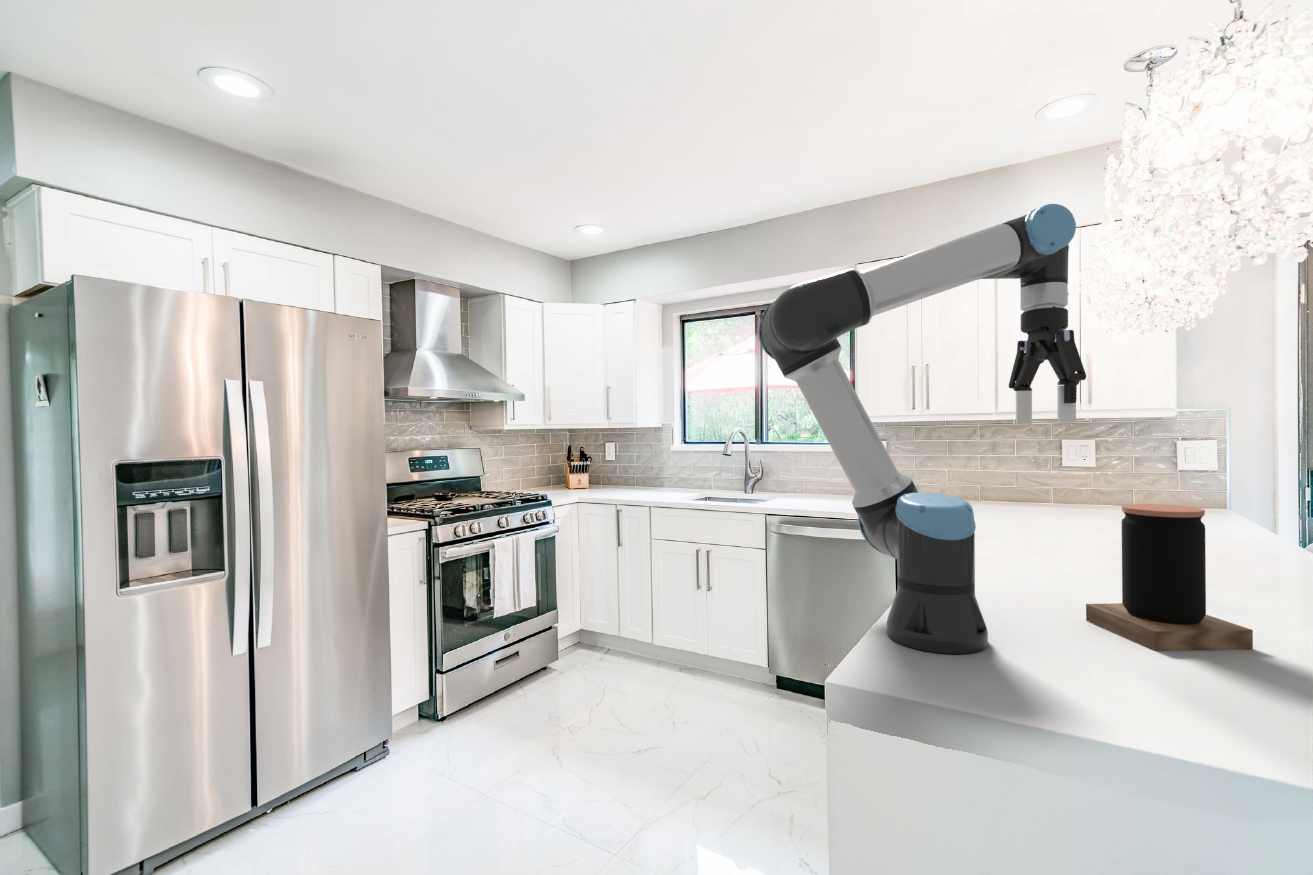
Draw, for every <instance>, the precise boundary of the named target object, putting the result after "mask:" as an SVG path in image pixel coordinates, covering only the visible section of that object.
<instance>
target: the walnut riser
mask: <svg viewBox="0 0 1313 875" xmlns="http://www.w3.org/2000/svg"><path fill="white" fill-rule="evenodd" d="M1085 617H1086V618H1085V621H1086V622H1088V621H1089V623H1090V622H1091V624H1093V623H1094V624H1093V625H1095V626H1097V627H1100V628H1102V629H1104V628H1105V630H1106V631H1110V632H1111V633H1114V634H1116V635H1119V636H1121V637H1122V636H1123V637H1122V638H1125V639H1127V640H1129V641H1132V642H1134V643H1136V644H1138V643H1139V644H1138V645H1141V646H1143V647H1146V648H1148V649H1150V650H1152V649H1153V651H1154V652H1160V651H1161V652H1162V651H1163V652H1165V651H1167V652H1168V651H1169V650H1177V651H1211V650H1210V649H1218V650H1217V651H1222V650H1221V649H1247V650H1254V648H1253V647H1254V646H1253V645H1254V644H1253V643H1254V640H1253V639H1254V636H1253V635H1254V634H1253V633H1254V632H1253V631H1254V630H1253V629H1250V628H1248V627H1246V626H1245V627H1244V626H1242V625H1238V624H1236V623H1233V622H1230V621H1227V620H1223V619H1220V618H1217V617H1215V616H1212V615H1208V614H1206V615H1205V617H1204V618H1203V619H1202V620H1201V621H1200V623H1197V624H1188V625H1184V624H1169V623H1162V622H1156V621H1151V620H1146V619H1142V618H1139V617H1136V616H1133V615H1131V614H1129V613H1128V611H1127V609H1126V608H1125V607H1124V606H1123V604H1122V602H1121V603H1116V602H1115V603H1086V604H1085ZM1219 649H1220V650H1219ZM1169 652H1170V651H1169Z"/></svg>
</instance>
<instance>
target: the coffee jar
mask: <svg viewBox="0 0 1313 875" xmlns="http://www.w3.org/2000/svg"><path fill="white" fill-rule="evenodd" d="M1121 511H1122V512H1123V514H1124V517H1123V518H1122V519H1121V589H1122V590H1121V593H1122V594H1121V598H1122V599H1121V600H1122V601H1121V603H1122V604H1123V606H1124V607H1125V608H1126V609H1127V611H1128V613H1129V614H1131V615H1133V616H1136V617H1139V618H1142V619H1146V620H1151V621H1156V622H1162V623H1169V624H1184V625H1188V624H1197V623H1200V621H1201V620H1202V619H1203V618H1204V617H1205V615H1207V584H1206V582H1207V579H1206V578H1207V576H1206V575H1207V574H1206V572H1207V571H1206V570H1207V569H1206V565H1207V564H1206V563H1207V562H1206V559H1207V558H1206V525H1205V524H1204V522H1203V521H1202V518H1203V517H1204V516H1205V513H1206V511H1205V509H1203V508H1200V507H1194V506H1188V505H1187V506H1186V505H1176V504H1174V505H1173V504H1159V503H1158V504H1155V503H1154V504H1153V503H1132V504H1131V503H1129V504H1123V505H1121Z"/></svg>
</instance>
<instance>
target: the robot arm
mask: <svg viewBox="0 0 1313 875" xmlns="http://www.w3.org/2000/svg"><path fill="white" fill-rule="evenodd" d="M1076 229H1077V223H1076V218H1075V217H1074V215H1073V213H1072V212H1071V211H1070V209H1069V208H1067V207H1066V206H1064V205H1062V204H1059V203H1048V204H1044V205H1042V206H1040V207H1037V208H1034V209H1033V210H1031V211H1030V212H1028V213H1027V214H1024V215H1021V216H1019V217H1017V218H1014V219H1011V220H1007V221H1005V222H1002V223H999V224H996V225H993V226H990V227H987V228H985V229H984V228H983V229H981V230H978V231H975V232H973V233H969V234H967V235H964V236H960V237H958V238H954V239H952V240H949V241H946V242H943V243H940V244H938V245H935V246H934V245H933V246H931V247H929V248H925V249H923V250H920V251H917V252H914V253H910V254H909V255H905V256H903V257H900V258H896V259H893V260H891V261H888V262H885V263H883V264H879V265H876V266H873V267H869V268H867V269H865V270H861V271H859V270H857V269H855V268H848V269H845V270H841V271H838V272H836V273H835V272H834V273H832V274H828V275H825V276H821V277H818V278H815V279H814V278H813V279H811V280H806V281H803V282H800V283H797V284H795V285H792V286H790V287H788V288H786V290H785V291H783V292H782V293H781V294H780V295H779V296H778V298H776V299H775V300H774V301H773V302H772V303H770V304H769V305H768V306H767V307H766V309H765V310H764V311H763V313H762V315H761V318H760V321H759V324H758V331H757V333H758V334H757V336H758V340H759V343H760V346H761V348H762V350H763V351H764V353H765V354H767V355H768V356H769V357H770V358H771V359H773V360H775V362H776V364H777V366H778V368H779V370H780V372H781V373H782V375H783V377H784V378H785V379H788V380H791V381H794V382H796V384H797V386H798V388H799V389H800V392H801V393H802V396H803V397H804V399H805V401H806V403H807V405H808V406H809V408H810V410H811V412H812V414H813V415H814V418H815V419H816V421H817V423H818V425H819V427H820V429H821V431H822V432H823V436H824V437H825V438H826V440H827V442H828V444H829V446H830V448H831V450H832V451H833V453H834V455H835V457H836V459H837V461H838V463H839V465H840V467H841V468H842V470H843V472H844V474H845V475H846V478H847V479H848V481H849V483H850V486H851V487H852V489H853V491H854V495H853V498H852V502H851V504H852V507H853V508H854V510H855V513H856V514H857V516H858V517H857V524H858V528H859V532H860V534H861V535H862V537H863V538H864V541H866V542H867V543H868V544H869V546H871V548H873V549H874V550H876V551H878V552H879V553H881V554H884V555H887V556H889V557H891V558H893V559H895V560H896V564H897V568H896V569H897V587H896V588H897V590H896V591H895V595H894V598H893V601H892V604H891V607H890V609H889V612H888V616H887V619H886V634H887V636H888V637H889V638H890V639H891V640H893V642H896V643H898V644H901V645H904V646H905V647H909V648H912V649H915V650H920V651H924V652H926V651H927V652H931V653H939V654H940V653H941V654H953V655H954V654H970V653H971V654H972V653H978V652H980V651H984V650H985V649H987V647H988V646H989V639H988V638H989V637H988V636H989V635H988V633H989V632H988V628H987V624H986V621H985V618H984V616H983V613H982V611H981V608H980V605H979V602H978V599H977V597H976V587H975V585H976V583H975V582H976V578H975V577H976V572H975V571H976V566H975V564H976V559H975V558H976V557H975V556H976V555H975V554H976V552H975V551H976V550H975V549H976V548H975V547H976V546H975V544H976V543H975V541H976V540H975V538H976V537H975V536H976V535H975V531H976V527H977V526H976V522H975V515H974V513H975V512H974V509H973V506H972V505H971V503H970V502H968V501H967V500H965V499H963V498H961V497H958V496H955V495H950V494H943V493H938V492H937V493H936V492H919V490H918V488H917V486H916V484H915V482H914V480H913V479H912V477H910V476H909V475H906V474H903V473H900V472H899V471H898V470H897V467H896V466H895V464H894V462H893V460H892V457H891V456H890V454H889V452H888V451H887V449H886V446H885V444H884V443H883V441H882V439H881V437H880V436H879V434H878V432H877V430H876V427H875V426H874V424H873V422H872V420H871V418H870V417H869V415H868V413H867V411H866V409H865V407H864V405H863V403H862V402H861V400H860V398H859V396H858V394H857V392H856V390H855V388H854V387H853V384H852V382H851V381H850V378H849V377H848V374H846V371H845V370H844V368H843V366H842V363H841V362H840V360H839V358H840V357H839V356H840V353H841V350H842V345H841V344H840V341H839V340H838V338H839V337H841V336H842V335H846V333H849V332H850V331H852V330H855V329H859V328H861V327H864V326H867V325H868V324H870V322H871V320H872V318H873V317H874V316H876V315H880V314H883V313H885V312H889V311H890V310H895V309H897V308H900V307H902V306H905V305H908V304H911V303H914V302H917V301H921V300H923V299H926V298H928V297H931V296H934V295H937V294H939V293H943V292H945V291H949V290H951V289H954V288H958V287H960V286H964V285H967V284H968V283H973V282H975V281H977V280H996V279H998V280H999V279H1001V280H1003V279H1004V280H1005V279H1008V280H1009V279H1011V280H1012V279H1014V280H1017V279H1019V280H1020V281H1019V282H1020V289H1019V290H1020V294H1019V295H1020V310H1021V311H1023V312H1022V313H1021V314H1020V331H1021V333H1023V334H1027V340H1018V341H1017V345H1016V346H1017V347H1016V354H1015V358H1014V363H1013V368H1012V370H1011V375H1010V379H1009V382H1008V388H1009V389H1013V391H1014V392H1015V424H1016V425H1017V424H1019V425H1020V424H1021V425H1023V424H1027V425H1030V424H1031V425H1032V424H1033V388H1032V387H1031V385H1032V383H1033V381H1034V379H1035V377H1036V374H1037V372H1038V370H1039V368H1040V365H1041V364H1044V362H1045V361H1048V362H1049V364H1050V366H1051V368H1052V370H1053V372H1054V373H1055V375H1056V377H1057V379H1058V382H1057V383H1056V384H1057V423H1061V424H1062V423H1077V395H1078V394H1077V385H1080V382H1081V381H1085V380H1086V379H1087V373H1086V370H1085V368H1084V365H1083V362H1082V359H1081V355H1080V353H1079V350H1078V347H1077V344H1076V342H1075V332H1074V330H1073V329H1067V328H1068V326H1069V310H1068V309H1067V308H1066V307H1067V306H1068V304H1069V301H1068V300H1069V299H1068V298H1069V291H1068V290H1069V288H1068V283H1069V281H1068V280H1069V250H1070V245H1069V244H1070V243H1071V241H1072V240H1073V239H1074V236H1075V235H1076Z"/></svg>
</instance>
